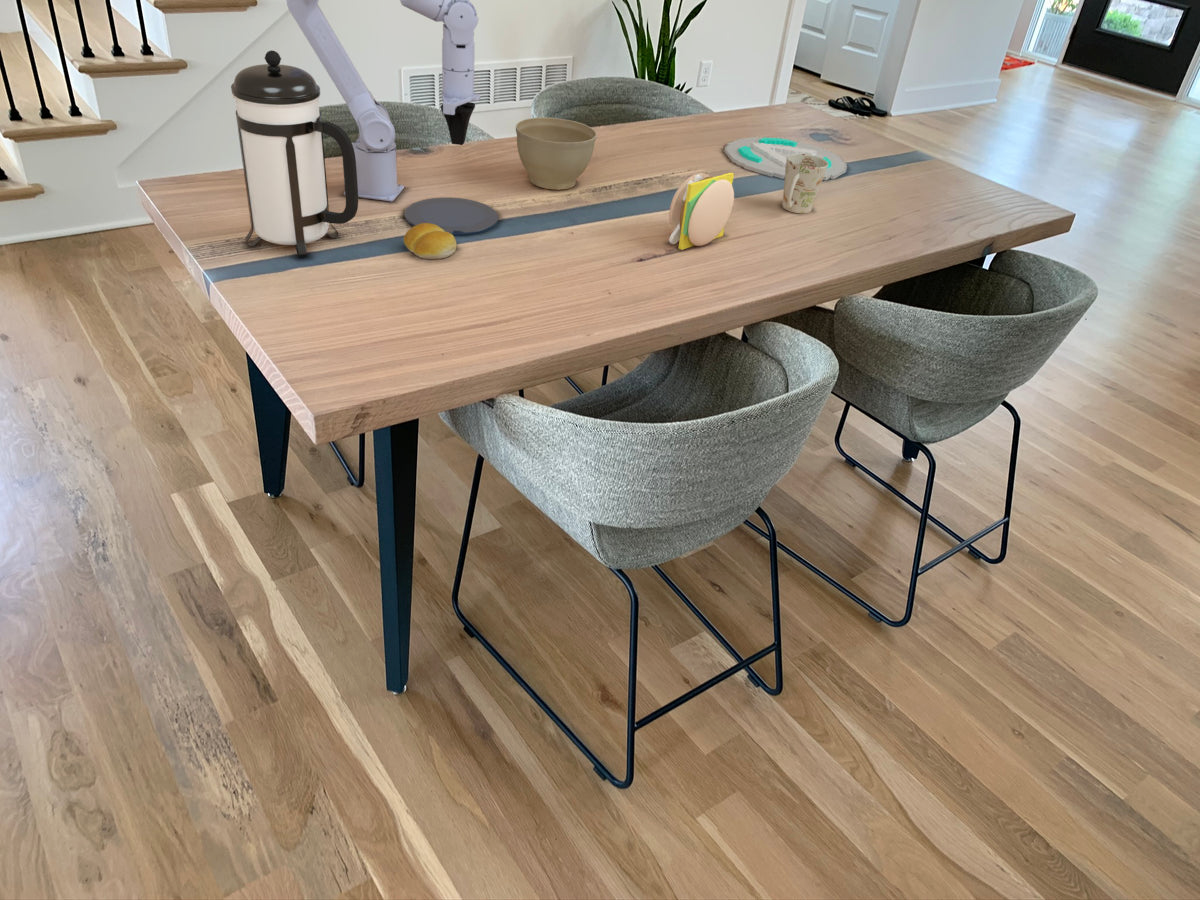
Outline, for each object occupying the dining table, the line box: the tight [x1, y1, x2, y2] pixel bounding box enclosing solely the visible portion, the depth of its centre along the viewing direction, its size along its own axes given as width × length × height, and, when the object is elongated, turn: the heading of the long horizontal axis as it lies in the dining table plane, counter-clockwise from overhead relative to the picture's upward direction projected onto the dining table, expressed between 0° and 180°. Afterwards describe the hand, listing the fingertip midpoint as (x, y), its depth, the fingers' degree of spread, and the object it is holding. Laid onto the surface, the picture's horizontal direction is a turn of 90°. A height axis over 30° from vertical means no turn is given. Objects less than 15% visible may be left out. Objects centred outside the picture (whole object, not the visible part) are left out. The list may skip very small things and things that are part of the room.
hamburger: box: [668, 172, 735, 251], centre depth 165 cm, size 12×8×12 cm
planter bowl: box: [515, 117, 598, 191], centre depth 182 cm, size 16×16×11 cm
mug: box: [781, 154, 828, 214], centre depth 182 cm, size 8×13×10 cm, turn 155°
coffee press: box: [230, 50, 359, 259], centre depth 142 cm, size 17×16×30 cm
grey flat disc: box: [723, 136, 848, 182], centre depth 212 cm, size 28×28×2 cm
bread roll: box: [403, 223, 457, 260], centre depth 152 cm, size 8×9×4 cm
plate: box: [404, 197, 499, 237], centre depth 165 cm, size 17×17×1 cm
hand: (458, 143), depth 171 cm, fingers closed
